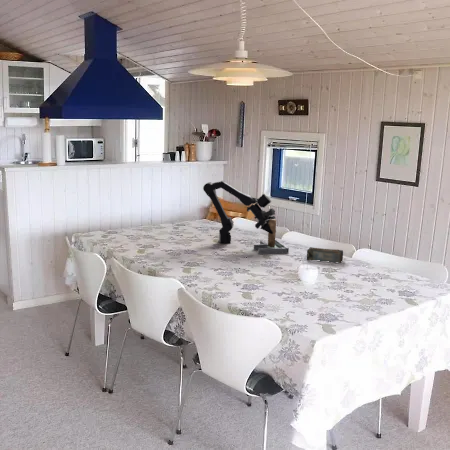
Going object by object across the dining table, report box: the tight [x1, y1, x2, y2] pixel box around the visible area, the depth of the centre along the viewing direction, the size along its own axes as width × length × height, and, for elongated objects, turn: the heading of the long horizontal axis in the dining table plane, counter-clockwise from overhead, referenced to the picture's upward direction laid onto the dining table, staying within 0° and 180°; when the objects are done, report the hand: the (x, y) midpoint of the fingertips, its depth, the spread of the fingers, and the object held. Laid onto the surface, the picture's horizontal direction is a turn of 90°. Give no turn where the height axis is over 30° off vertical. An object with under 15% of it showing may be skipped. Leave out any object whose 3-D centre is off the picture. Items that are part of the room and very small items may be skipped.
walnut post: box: [267, 218, 277, 247], centre depth 325 cm, size 4×4×16 cm
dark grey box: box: [306, 247, 344, 264], centre depth 300 cm, size 8×19×7 cm, turn 71°
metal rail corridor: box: [253, 239, 290, 255], centre depth 321 cm, size 18×21×3 cm
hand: (274, 233), depth 324 cm, fingers closed on walnut post, 4 cm apart
